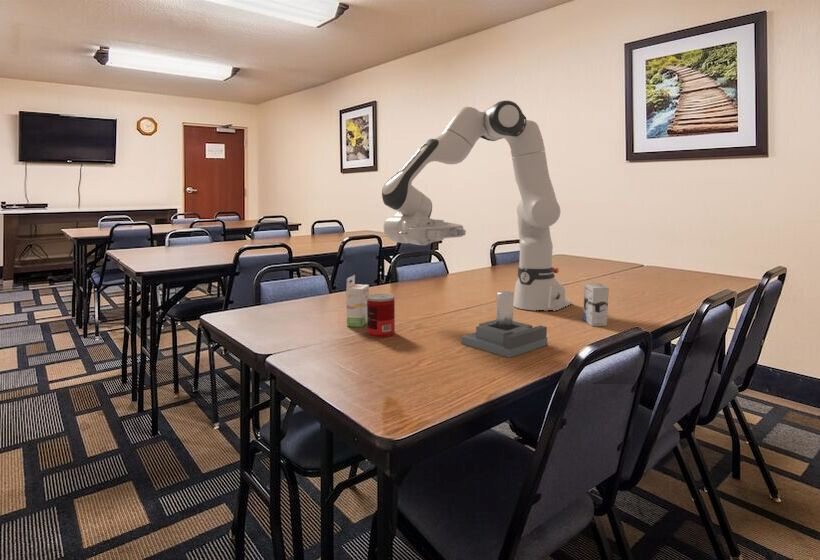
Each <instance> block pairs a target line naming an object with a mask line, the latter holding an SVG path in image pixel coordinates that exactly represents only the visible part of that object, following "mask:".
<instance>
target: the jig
mask: <svg viewBox="0 0 820 560" xmlns="http://www.w3.org/2000/svg"><path fill="white" fill-rule="evenodd" d="M533 326H534V325H531V324H527V323H523V322H518V321H515V320H513V329H510V330H507V331H506V330H502V329H498V328H496V319H493V320H489V321H485V322H482V323H479V324H478V326H476V327H475V332H473V333H472V332H471V333H470V334H469V333H468V334H466V335H465V334H464V335H461V336H460V337H461V339H460V343H461V344H462V345H465V346H467V347H471V348H475V349H477V350H478V349H479V350H481V351H482V350H483V351H484V352H488V353H492V354H496V355H499V356H502V357H505V358H514V357H515V356H518V355H522V354H524V353H528V352H530V351H534V350H536V348H537V349H539V347H540V348H542V346H543V347H545V345H546V346H548V336H547V334H548V333H547V332H548V328H547V327H548V326H543V325H537V326H534V327H533Z"/></svg>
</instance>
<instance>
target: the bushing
mask: <svg viewBox="0 0 820 560" xmlns="http://www.w3.org/2000/svg"><path fill="white" fill-rule="evenodd" d="M514 294H515V291H514V292H513V291H510V290H509V291H508V290H500V291H499V290H498V291H496V302H495V303H496V305H495V306H496V309H495V320H496V328H498V329H502V330H506V331H507V330H510V329H513V321H514V306H513V302H514Z"/></svg>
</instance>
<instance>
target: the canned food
mask: <svg viewBox="0 0 820 560" xmlns="http://www.w3.org/2000/svg"><path fill="white" fill-rule="evenodd" d="M395 315H396V314H395V295H393V294H391V293H390V294H389V293H376V294H375V293H374V294H369V296H368V297H367V333H368V335H369V336H370V337H373V338H388V337H392V336H394V334H395V332H396V331H395V327H396V324H395V323H396V322H395V319H396V318H395Z"/></svg>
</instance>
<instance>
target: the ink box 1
mask: <svg viewBox="0 0 820 560" xmlns="http://www.w3.org/2000/svg"><path fill="white" fill-rule="evenodd" d="M350 281H351V282H350ZM355 282H356V275H355V274H353V275H352V276H349V277H348V278H346V289H345V291H346V293H345V294H346V327H349V326H350V328H362V327H364V326H365V325H366V324H368V322H367V297H368V296H369V295H370V284H358V283H357V284H356V283H355Z"/></svg>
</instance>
